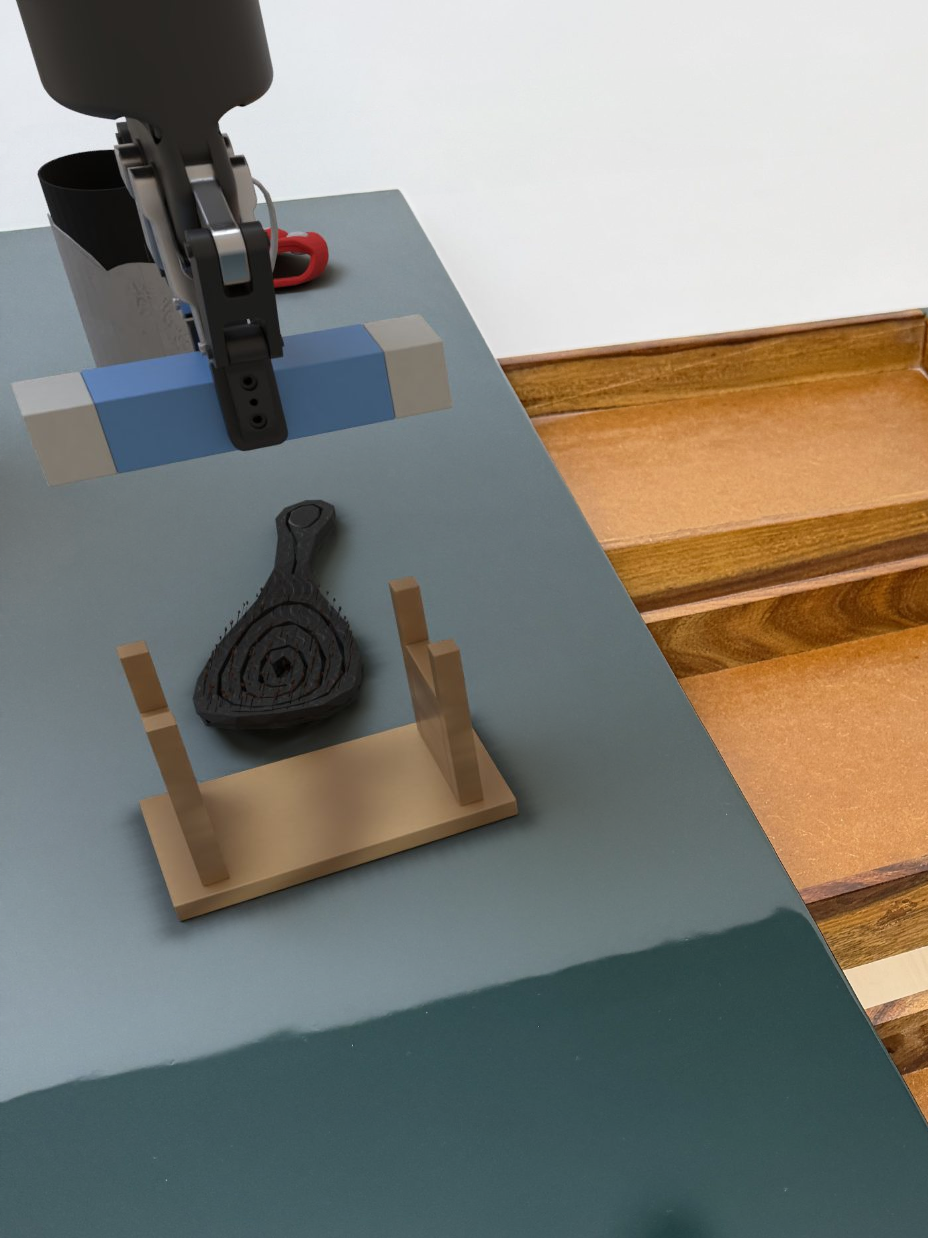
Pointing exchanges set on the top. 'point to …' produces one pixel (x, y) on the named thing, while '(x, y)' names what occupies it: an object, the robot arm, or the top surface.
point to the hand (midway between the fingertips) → (249, 423)
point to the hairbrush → (284, 641)
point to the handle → (190, 411)
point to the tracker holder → (300, 246)
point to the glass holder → (115, 260)
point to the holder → (320, 786)
